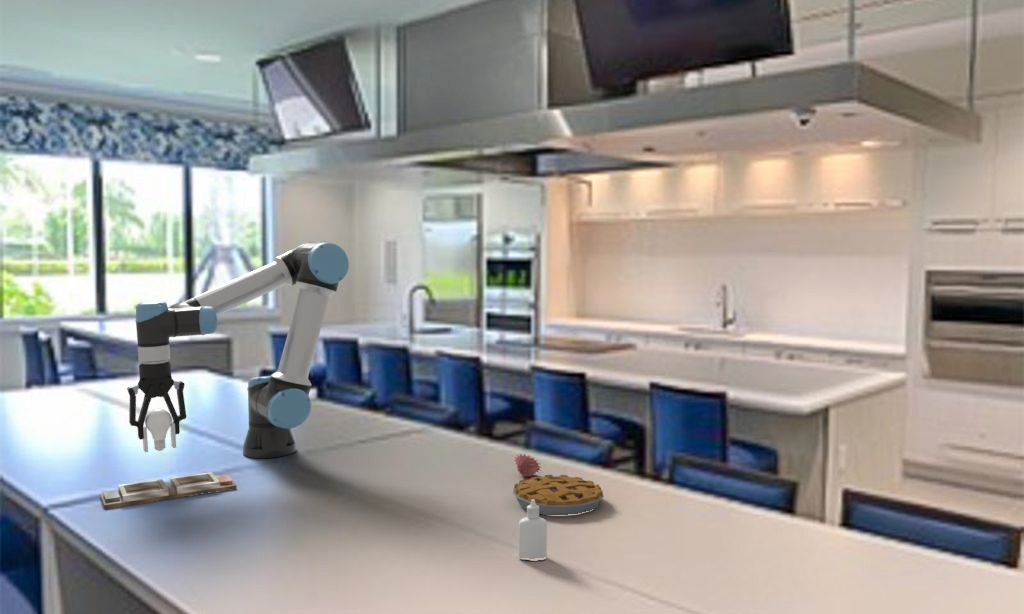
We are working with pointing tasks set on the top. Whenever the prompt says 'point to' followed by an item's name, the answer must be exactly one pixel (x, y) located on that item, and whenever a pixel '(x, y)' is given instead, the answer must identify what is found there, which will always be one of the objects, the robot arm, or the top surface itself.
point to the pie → (558, 494)
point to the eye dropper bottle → (532, 534)
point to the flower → (527, 465)
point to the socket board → (165, 489)
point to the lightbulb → (158, 426)
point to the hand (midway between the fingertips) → (160, 448)
